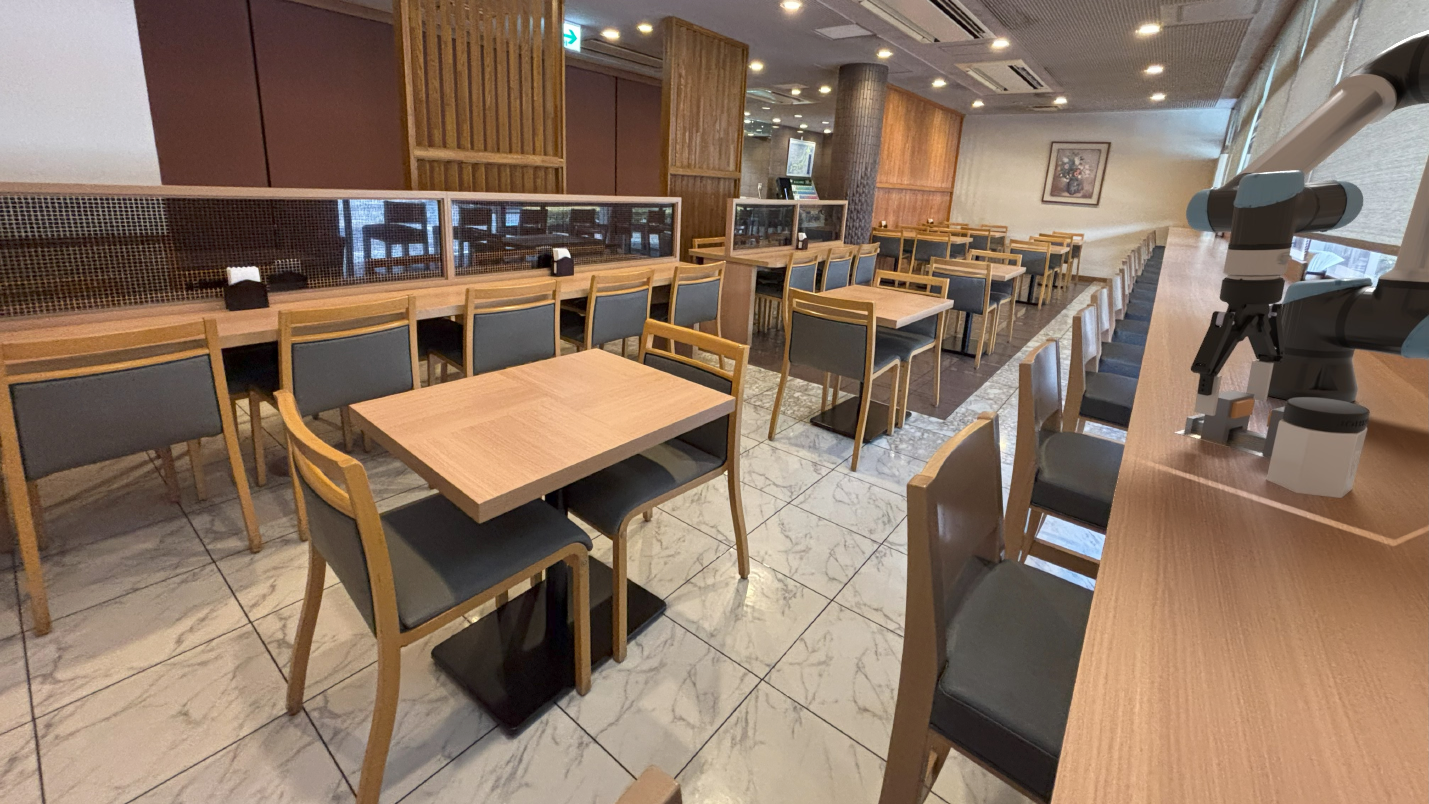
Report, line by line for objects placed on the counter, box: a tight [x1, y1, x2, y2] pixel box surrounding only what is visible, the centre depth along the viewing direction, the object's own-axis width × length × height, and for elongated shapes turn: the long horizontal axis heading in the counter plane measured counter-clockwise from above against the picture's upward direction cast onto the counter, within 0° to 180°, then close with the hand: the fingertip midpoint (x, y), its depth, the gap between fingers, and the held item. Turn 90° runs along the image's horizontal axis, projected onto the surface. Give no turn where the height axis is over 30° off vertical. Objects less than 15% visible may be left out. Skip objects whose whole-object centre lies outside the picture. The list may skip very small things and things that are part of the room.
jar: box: [1266, 397, 1371, 499], centre depth 84 cm, size 9×8×12 cm
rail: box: [1173, 413, 1271, 460], centre depth 100 cm, size 9×20×3 cm, turn 23°
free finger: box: [1201, 389, 1256, 442], centre depth 103 cm, size 4×6×7 cm, turn 113°
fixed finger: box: [1263, 405, 1285, 456], centre depth 96 cm, size 4×6×7 cm, turn 113°
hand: (1230, 406), depth 103 cm, fingers open, 13 cm apart
